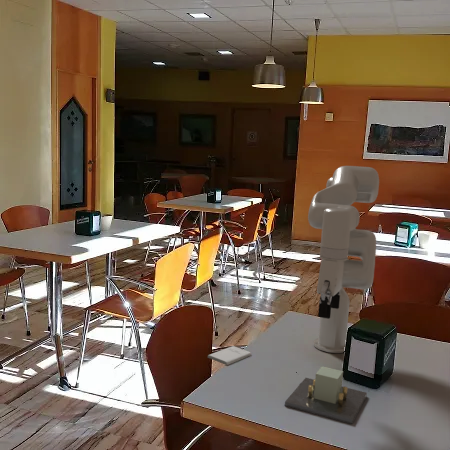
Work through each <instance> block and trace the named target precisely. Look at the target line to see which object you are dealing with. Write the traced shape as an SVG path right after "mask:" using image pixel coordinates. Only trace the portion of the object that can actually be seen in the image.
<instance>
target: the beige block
mask: <svg viewBox="0 0 450 450" xmlns="http://www.w3.org/2000/svg"><path fill="white" fill-rule="evenodd" d="M343 375H344V371H343V370H340V369H335V368H330V367H325V366H322V365H321V367H319V369H318V370H317V372H316V373H315V378H314V379H315V389H314V398H315V399H319V400H323V401H326V402H330V403H334V404H336V402H337V400H338V398H339V393H341V389H342V387H343V377H344V376H343Z"/></svg>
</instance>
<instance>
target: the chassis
mask: <svg viewBox="0 0 450 450" xmlns="http://www.w3.org/2000/svg"><path fill="white" fill-rule="evenodd" d="M314 389H315V378H314V379H313V378H309V377H305V378H304V379H303V380H302V381H301V383H300V384H299V385H298V386H297V387H296V389H294V391H293V392H292V393H291V394H290V396H289V397H288V398H287V399H286V400H285V402H284V406H285V407H288V408H290V409H295V410H297V411H298V410H299V411H302V412H305V413H309V414H314V415H317V416H319V417H324V418H328V419H331V420H335V421H339V422H343V423H346V424H350V425H353V423H354V421H355V420H356V417H357V415H358V413H359V412H360V410H361V408H362V406H363V404H364V402H365V400H366V399H367V396H368V395H367V394H368V392H366V391H362V390H357V389H355V388H349V387H348V386H342V389H341V393H339V398H338V400H337V402H336V404H334V403H330V402H326V401H323V400H319V399H315V398H314Z"/></svg>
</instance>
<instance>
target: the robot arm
mask: <svg viewBox="0 0 450 450" xmlns="http://www.w3.org/2000/svg"><path fill="white" fill-rule="evenodd" d="M379 186H380V177H379V173H378V171H377V170H376V169H375V168H373V167H369V166H357V165H342V166H339V167H338V168H336V169H335V170H334V172H333V174H332V177H330V178H328V179H327V182H326V185H325V187H326V188H324V189H322V190H320V191H317V192H316V193H315V194H314V195H313V197H312V199H311V201H310V204H309V209H308V213H307V214H308V215H307V221H308V224H309V226H310V227H312V228H314V229H317V230H321V235H320V236H321V239H320V249H319V258H320V259H321V262H320V266H319V271H318V278H317V279H318V280H317V286H316V287H317V289H316V293H317V294H318V295H320V297H319V301H318V302H319V303H318V314H317V316H318V318H319V326H318V327H319V328H318V329H319V330H318V338H315V339H314V341H313V346H314V347H315V348H316V349H318V350H319V351H323V352H327V353H329V354H330V353H332V354H343V352H344V347H345V340H346V341H347V335H346V333H347V332H348V322H349V313H350V297H349V294H348V293H347V291H346V290H345V289H344V288H347V289H348V288H349V289H356V290H369V289H370V288H372V286H373V283H374V279H375V267H376V255H377V254H376V253H377V238H376V234H375V233H374V232H373V231H371V230H368V229H357V227H358V226H359V223H360V219H361V218H360V217H361V216H360V212H359V210H358V209H357V208H356V207H355V206H354V205H353V204H354V203H364V204H371V203H374V202H375V201H376V200H377V197H378V195H379V188H380V187H379ZM349 257H356V258H359V259H360V260H354V259H348V258H349ZM347 334H348V333H347ZM344 353H345V352H344Z"/></svg>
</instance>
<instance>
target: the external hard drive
mask: <svg viewBox="0 0 450 450" xmlns="http://www.w3.org/2000/svg"><path fill="white" fill-rule="evenodd" d="M250 356H252V352H250V351H248V350H245V349H243V348H239V347H237V346H234V345H232V346H229V347H227V348H224V349H221V350H218V351H216V352H213V353H211V354H208V355H207V358H208V359H210V360H213V361H214V362H218V363H220V364H223V365H225V366H229V365H231V364H233V363H235V362H238V361H242V360H243V359H246V358H249V357H250Z"/></svg>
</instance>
